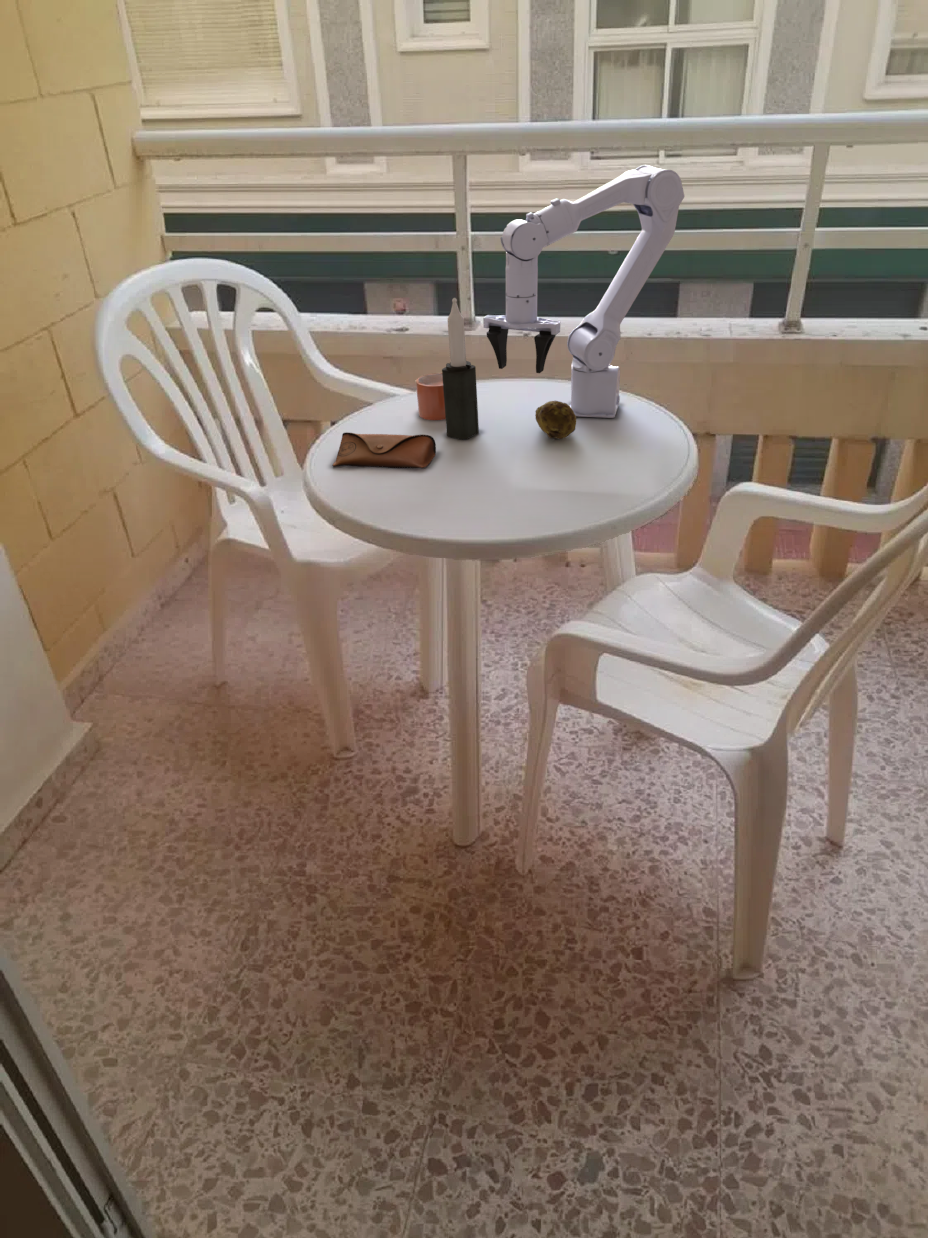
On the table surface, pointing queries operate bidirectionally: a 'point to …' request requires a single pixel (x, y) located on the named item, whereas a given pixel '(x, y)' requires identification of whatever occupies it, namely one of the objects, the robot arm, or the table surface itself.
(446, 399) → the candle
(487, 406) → the table surface
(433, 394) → the flower pot
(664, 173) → the robot arm
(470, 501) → the table surface
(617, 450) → the table surface
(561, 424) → the potato
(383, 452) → the sunglasses case
